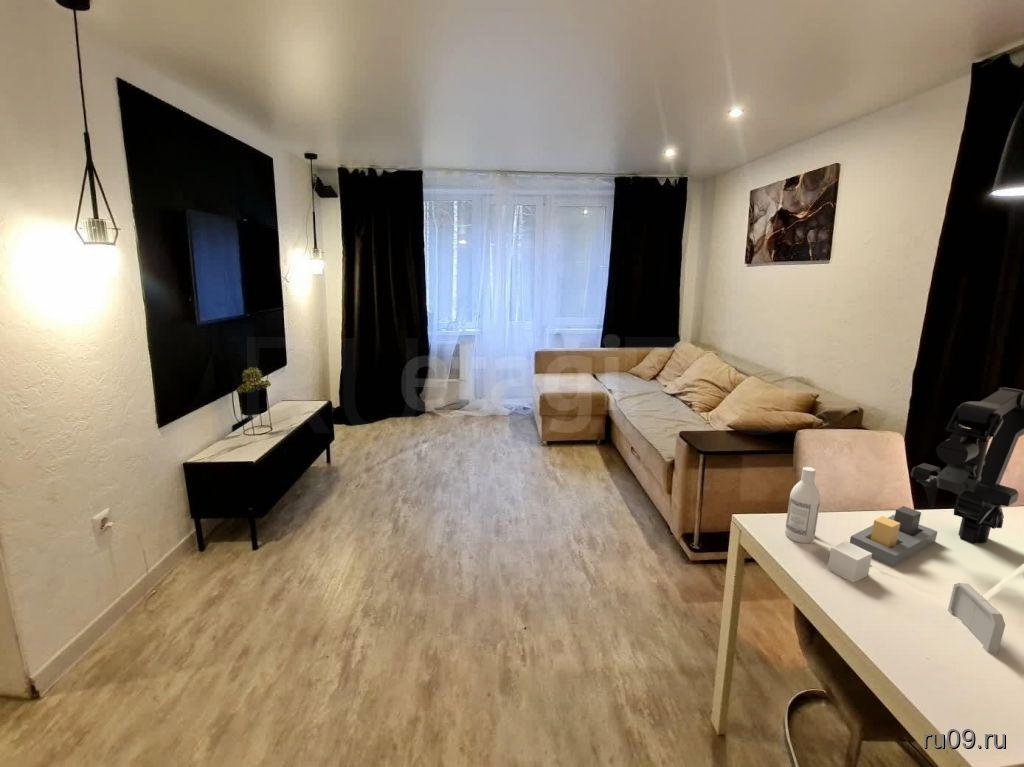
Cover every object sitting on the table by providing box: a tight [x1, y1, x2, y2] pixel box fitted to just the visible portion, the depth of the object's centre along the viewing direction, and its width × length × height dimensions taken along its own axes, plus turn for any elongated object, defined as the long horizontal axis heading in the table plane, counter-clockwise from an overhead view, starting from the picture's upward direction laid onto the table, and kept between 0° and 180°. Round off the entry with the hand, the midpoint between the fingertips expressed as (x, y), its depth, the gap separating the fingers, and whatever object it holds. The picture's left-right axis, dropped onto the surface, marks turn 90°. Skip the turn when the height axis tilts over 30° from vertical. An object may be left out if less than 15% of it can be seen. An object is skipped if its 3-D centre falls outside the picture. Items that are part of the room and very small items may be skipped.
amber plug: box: [871, 515, 900, 548], centre depth 125 cm, size 4×4×8 cm
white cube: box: [827, 540, 873, 583], centre depth 119 cm, size 6×6×6 cm
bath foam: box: [784, 466, 821, 544], centre depth 132 cm, size 7×7×20 cm
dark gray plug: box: [894, 505, 922, 536], centre depth 131 cm, size 4×4×8 cm
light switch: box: [947, 582, 1006, 655], centre depth 99 cm, size 2×12×8 cm, turn 168°
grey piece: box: [849, 514, 938, 567], centre depth 129 cm, size 22×10×4 cm, turn 119°
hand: (954, 515), depth 122 cm, fingers open, 9 cm apart
